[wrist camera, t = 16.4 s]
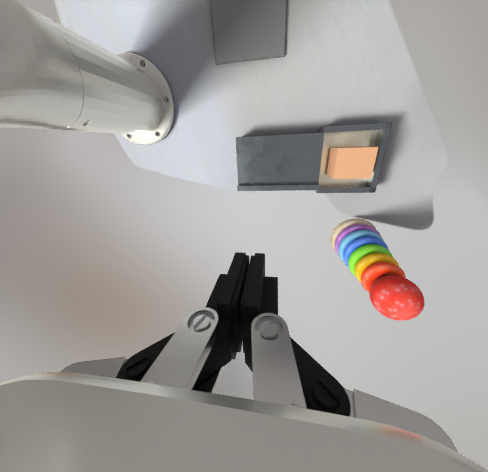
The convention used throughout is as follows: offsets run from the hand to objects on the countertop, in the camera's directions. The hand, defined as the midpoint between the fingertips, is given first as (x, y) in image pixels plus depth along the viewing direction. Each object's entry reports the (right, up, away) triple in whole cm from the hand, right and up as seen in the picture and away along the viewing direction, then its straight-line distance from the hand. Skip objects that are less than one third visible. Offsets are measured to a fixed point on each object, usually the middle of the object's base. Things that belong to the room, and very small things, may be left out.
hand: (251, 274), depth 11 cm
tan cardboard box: (+13, +13, +18) cm, 26 cm away
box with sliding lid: (+10, +15, +22) cm, 28 cm away
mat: (0, +32, +15) cm, 35 cm away
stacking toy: (+20, +2, +26) cm, 33 cm away
